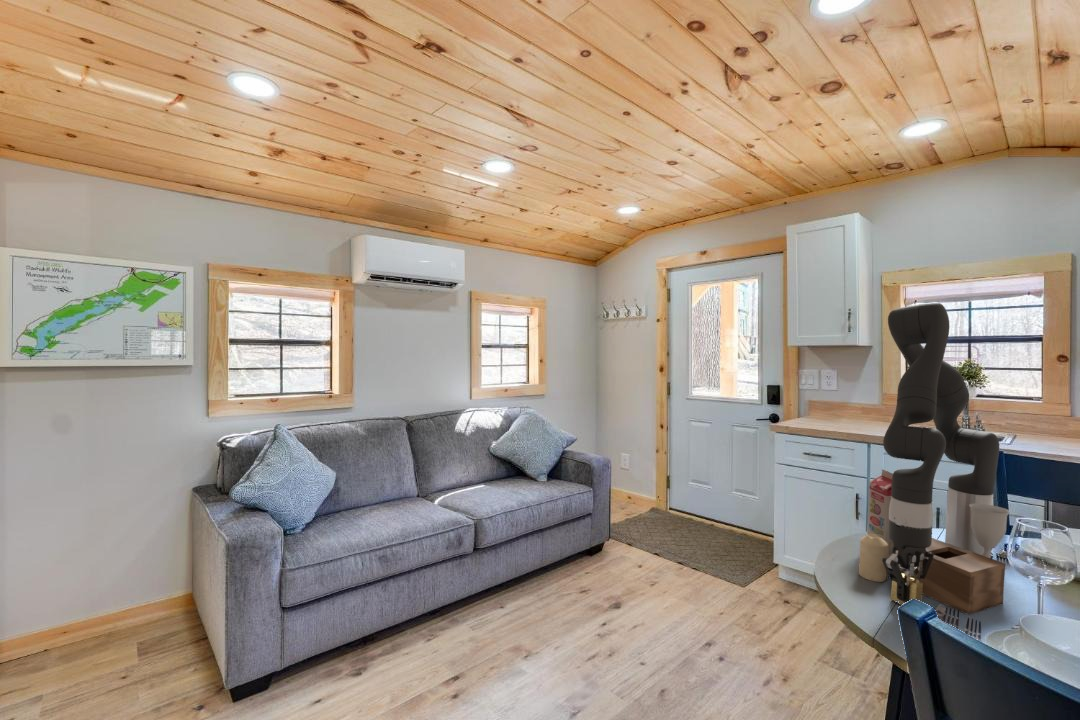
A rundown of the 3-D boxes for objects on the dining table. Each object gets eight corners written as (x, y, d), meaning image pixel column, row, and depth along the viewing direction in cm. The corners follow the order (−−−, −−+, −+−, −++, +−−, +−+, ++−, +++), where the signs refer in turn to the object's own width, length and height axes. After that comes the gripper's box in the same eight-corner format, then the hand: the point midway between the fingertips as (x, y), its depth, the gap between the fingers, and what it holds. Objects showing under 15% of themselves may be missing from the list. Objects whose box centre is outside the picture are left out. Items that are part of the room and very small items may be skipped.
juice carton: (890, 549, 140) (894, 469, 139) (908, 560, 133) (913, 476, 132) (866, 549, 140) (870, 469, 139) (883, 560, 133) (887, 476, 132)
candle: (890, 583, 121) (892, 541, 121) (864, 580, 122) (866, 539, 122) (879, 572, 126) (882, 532, 126) (855, 570, 128) (857, 530, 127)
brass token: (896, 598, 114) (898, 571, 113) (920, 610, 109) (922, 582, 109) (890, 599, 113) (892, 573, 113) (914, 611, 108) (916, 584, 108)
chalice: (996, 580, 123) (1001, 505, 122) (1011, 593, 117) (1016, 515, 116) (959, 575, 126) (963, 502, 125) (972, 587, 119) (976, 511, 118)
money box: (924, 572, 127) (926, 536, 127) (1002, 604, 112) (1005, 563, 112) (891, 580, 123) (893, 542, 122) (968, 614, 108) (970, 572, 107)
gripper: (913, 510, 116) (909, 585, 117) (870, 518, 111) (867, 597, 112) (950, 521, 109) (946, 602, 110) (906, 530, 104) (902, 614, 105)
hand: (906, 599), depth 111 cm, fingers closed on brass token, 1 cm apart
